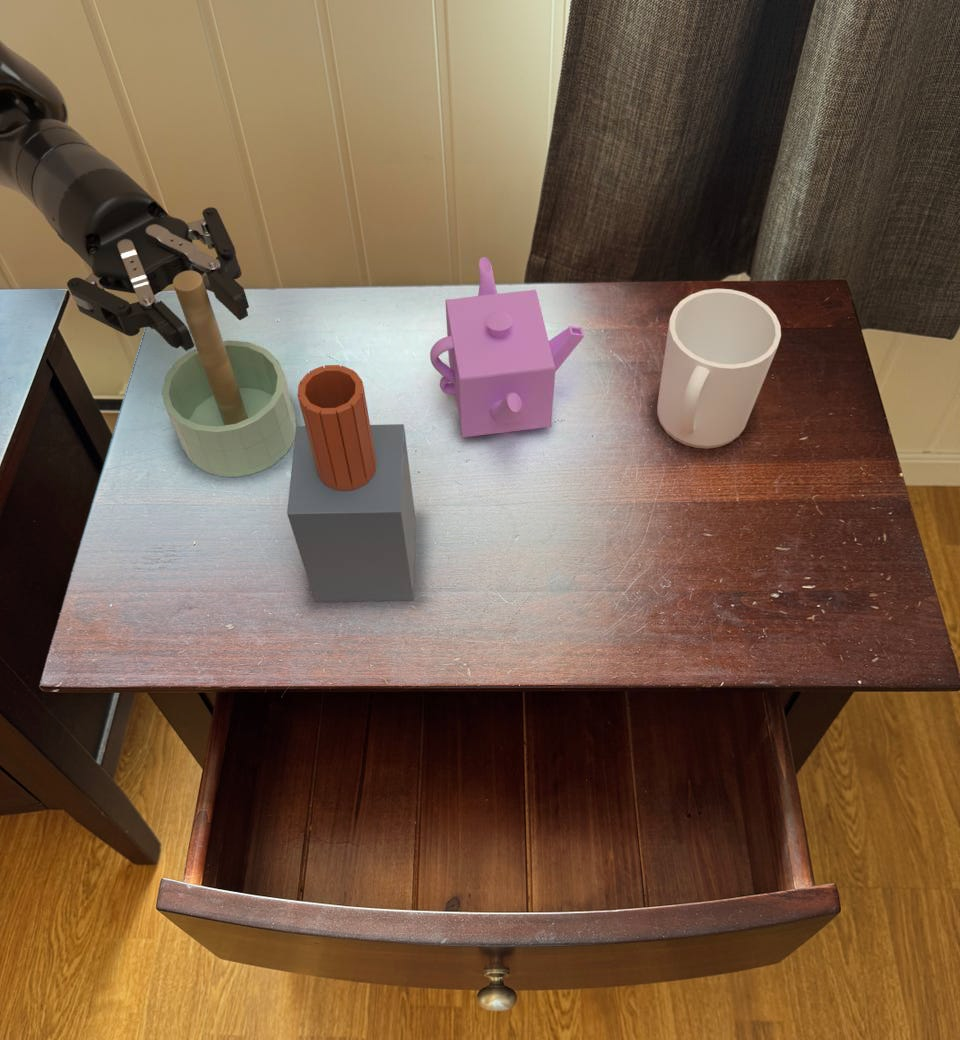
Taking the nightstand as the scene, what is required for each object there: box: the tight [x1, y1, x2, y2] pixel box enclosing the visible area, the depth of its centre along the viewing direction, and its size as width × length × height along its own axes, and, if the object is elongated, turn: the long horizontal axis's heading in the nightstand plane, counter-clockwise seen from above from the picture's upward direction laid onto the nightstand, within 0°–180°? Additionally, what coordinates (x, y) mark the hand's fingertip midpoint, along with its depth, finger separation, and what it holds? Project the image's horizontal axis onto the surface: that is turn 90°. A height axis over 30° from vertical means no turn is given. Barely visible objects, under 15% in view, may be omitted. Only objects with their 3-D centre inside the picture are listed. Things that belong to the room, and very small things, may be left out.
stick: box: [172, 271, 248, 425], centre depth 79 cm, size 2×2×16 cm
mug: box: [656, 288, 782, 450], centre depth 82 cm, size 11×9×10 cm
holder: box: [286, 364, 417, 603], centre depth 71 cm, size 8×8×20 cm
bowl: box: [161, 339, 297, 478], centre depth 84 cm, size 10×10×6 cm
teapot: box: [429, 256, 585, 438], centre depth 84 cm, size 18×13×10 cm
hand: (215, 323), depth 73 cm, fingers open, 4 cm apart
